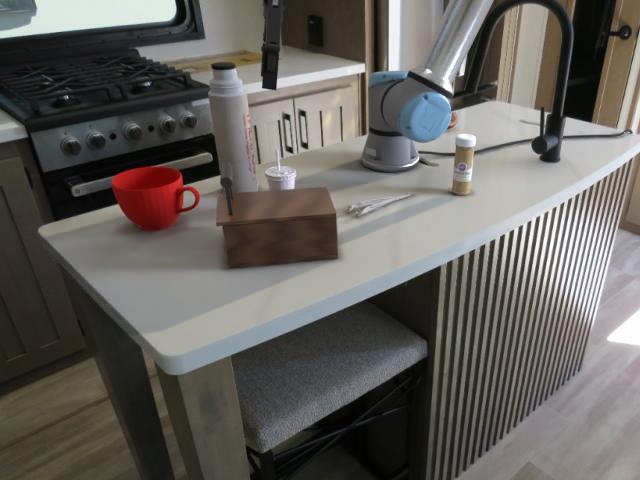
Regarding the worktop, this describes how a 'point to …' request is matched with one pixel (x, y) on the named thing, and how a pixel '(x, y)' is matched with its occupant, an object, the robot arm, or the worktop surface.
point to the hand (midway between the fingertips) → (268, 83)
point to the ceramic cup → (152, 196)
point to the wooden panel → (270, 203)
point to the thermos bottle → (232, 126)
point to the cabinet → (281, 242)
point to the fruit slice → (453, 120)
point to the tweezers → (373, 204)
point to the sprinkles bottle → (463, 163)
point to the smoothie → (280, 176)
